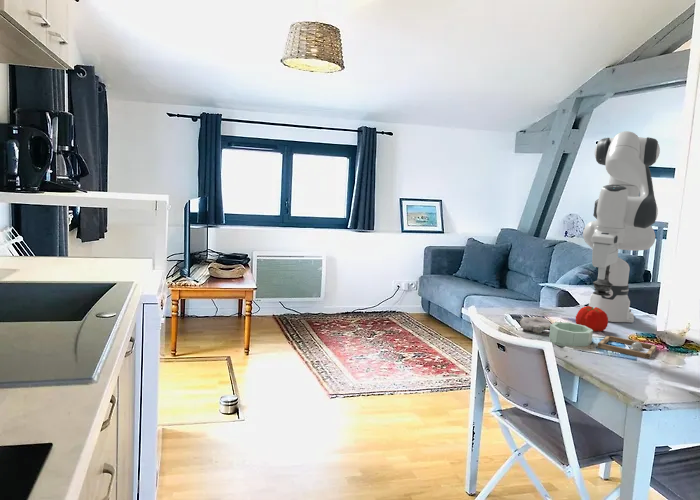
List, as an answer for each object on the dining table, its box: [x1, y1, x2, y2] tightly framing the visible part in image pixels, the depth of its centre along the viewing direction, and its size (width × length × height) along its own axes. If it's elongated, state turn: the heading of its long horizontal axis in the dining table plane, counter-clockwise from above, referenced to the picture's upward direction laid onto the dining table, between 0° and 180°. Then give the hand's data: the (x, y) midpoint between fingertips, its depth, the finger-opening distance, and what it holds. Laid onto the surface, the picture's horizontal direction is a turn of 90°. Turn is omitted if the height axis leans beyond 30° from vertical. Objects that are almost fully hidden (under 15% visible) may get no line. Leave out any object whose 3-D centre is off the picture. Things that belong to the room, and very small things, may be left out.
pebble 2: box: [629, 347, 641, 352], centre depth 177 cm, size 3×3×3 cm
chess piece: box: [592, 265, 613, 296], centre depth 182 cm, size 6×6×12 cm
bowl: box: [548, 321, 594, 348], centre depth 188 cm, size 12×12×6 cm
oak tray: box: [597, 334, 657, 360], centre depth 182 cm, size 13×15×2 cm
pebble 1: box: [630, 341, 643, 351], centre depth 183 cm, size 3×3×3 cm
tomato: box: [575, 305, 609, 332], centre depth 204 cm, size 11×11×9 cm
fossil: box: [519, 316, 552, 334], centre depth 201 cm, size 9×6×10 cm
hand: (603, 278), depth 182 cm, fingers closed on chess piece, 3 cm apart
